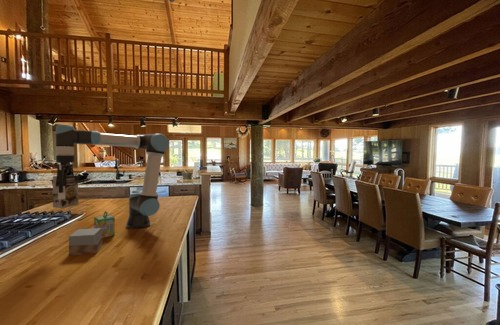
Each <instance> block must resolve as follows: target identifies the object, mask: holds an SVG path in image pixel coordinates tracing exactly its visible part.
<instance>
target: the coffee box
mask: <svg viewBox="0 0 500 325" xmlns="http://www.w3.org/2000/svg"><path fill="white" fill-rule="evenodd" d="M56 178H57V175H56V176H55V175H54V176H52V208H55V209H56V208H57V209H65V208H68V207H74V206H78V205H79V175H77V174H74V175H66V179H65V184H64V186H65V199H58V186H56Z"/></svg>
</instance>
